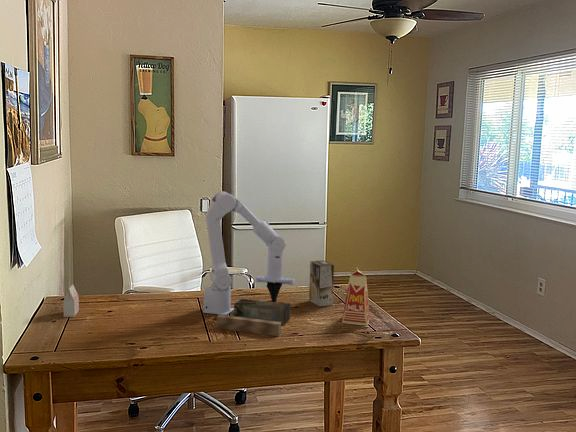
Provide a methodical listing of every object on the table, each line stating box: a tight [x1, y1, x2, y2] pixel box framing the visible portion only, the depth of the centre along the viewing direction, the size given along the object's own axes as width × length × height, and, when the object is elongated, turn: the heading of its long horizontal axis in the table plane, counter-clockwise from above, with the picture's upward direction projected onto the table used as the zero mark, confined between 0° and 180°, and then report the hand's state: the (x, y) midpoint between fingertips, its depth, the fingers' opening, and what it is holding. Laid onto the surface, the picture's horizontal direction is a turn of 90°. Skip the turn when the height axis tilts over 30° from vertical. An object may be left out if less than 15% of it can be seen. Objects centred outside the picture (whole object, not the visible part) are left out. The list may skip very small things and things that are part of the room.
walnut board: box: [216, 314, 282, 337], centre depth 195 cm, size 22×2×4 cm, turn 73°
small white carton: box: [62, 284, 80, 318], centre depth 208 cm, size 4×7×10 cm, turn 8°
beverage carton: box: [233, 298, 291, 326], centre depth 208 cm, size 8×19×7 cm, turn 75°
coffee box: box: [308, 260, 335, 307], centre depth 230 cm, size 9×6×16 cm
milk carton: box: [341, 267, 370, 327], centre depth 208 cm, size 9×9×20 cm
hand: (274, 301), depth 222 cm, fingers closed
